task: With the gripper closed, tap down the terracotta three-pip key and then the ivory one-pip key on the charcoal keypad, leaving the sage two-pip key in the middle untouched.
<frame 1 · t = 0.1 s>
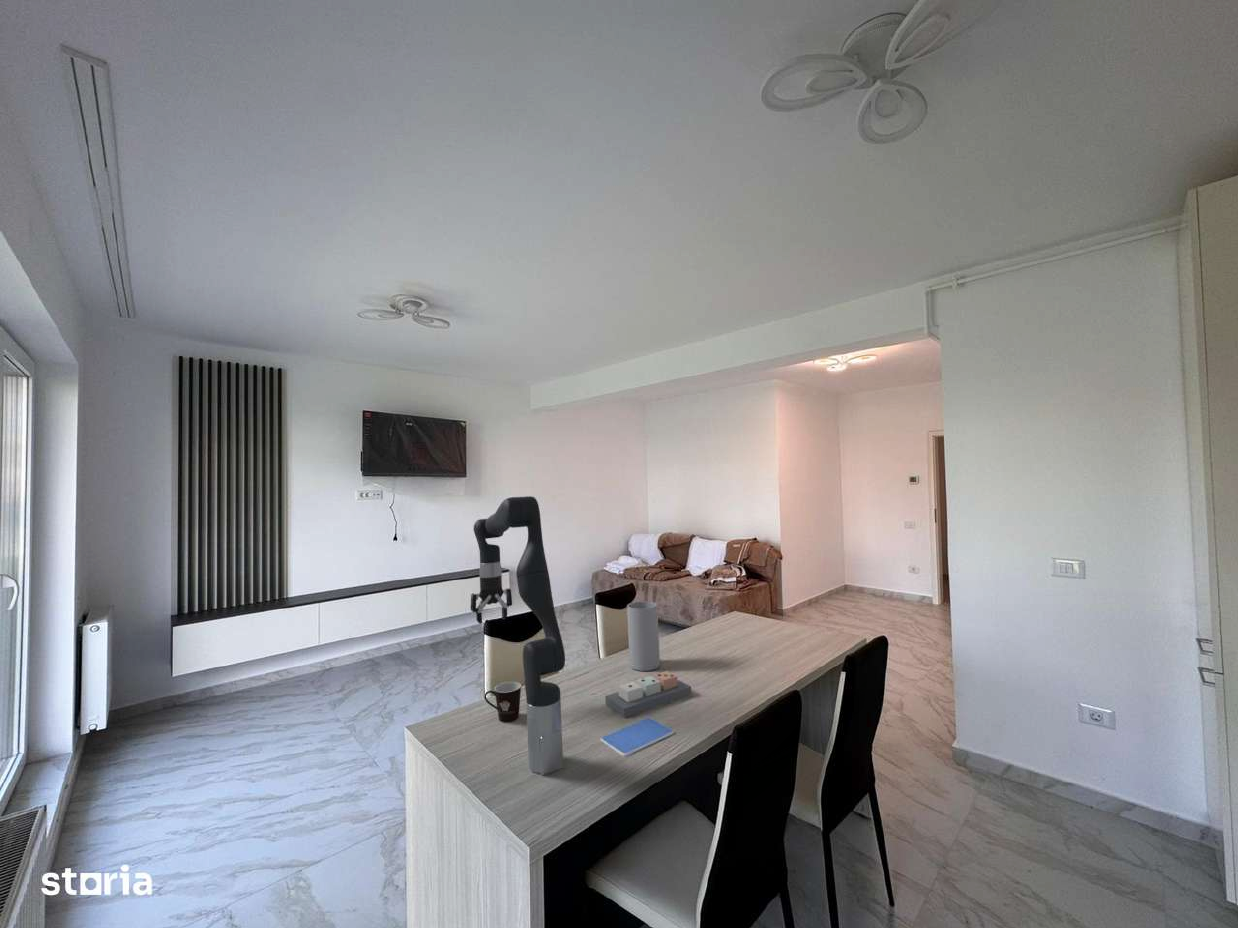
hand: (492, 620, 171), 29 cm above the table, fingers open, 8 cm apart
key three pips: (665, 680, 172), point 5 cm above the table, slide at 0.0 cm
keypad board: (649, 699, 168), on the table
cylinder vase: (645, 666, 200), on the table
key two pips: (648, 685, 168), point 5 cm above the table, slide at 0.0 cm
blue flat rectangular panel: (637, 739, 144), on the table
key one pip: (630, 691, 164), point 5 cm above the table, slide at 0.0 cm
coffee mug: (505, 717, 160), on the table
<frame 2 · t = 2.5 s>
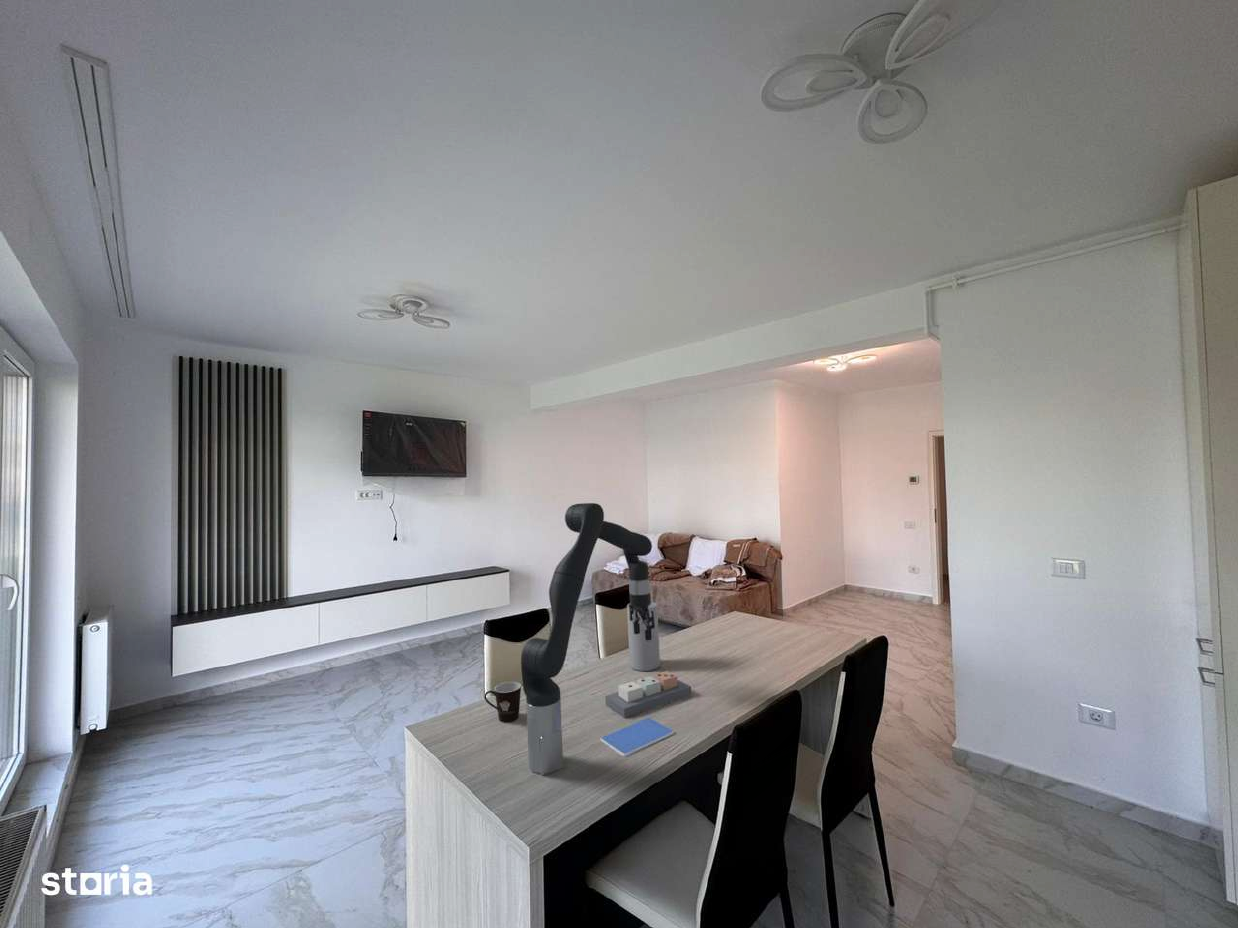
hand: (642, 636, 173), 20 cm above the table, fingers open, 8 cm apart
nothing on the table moved.
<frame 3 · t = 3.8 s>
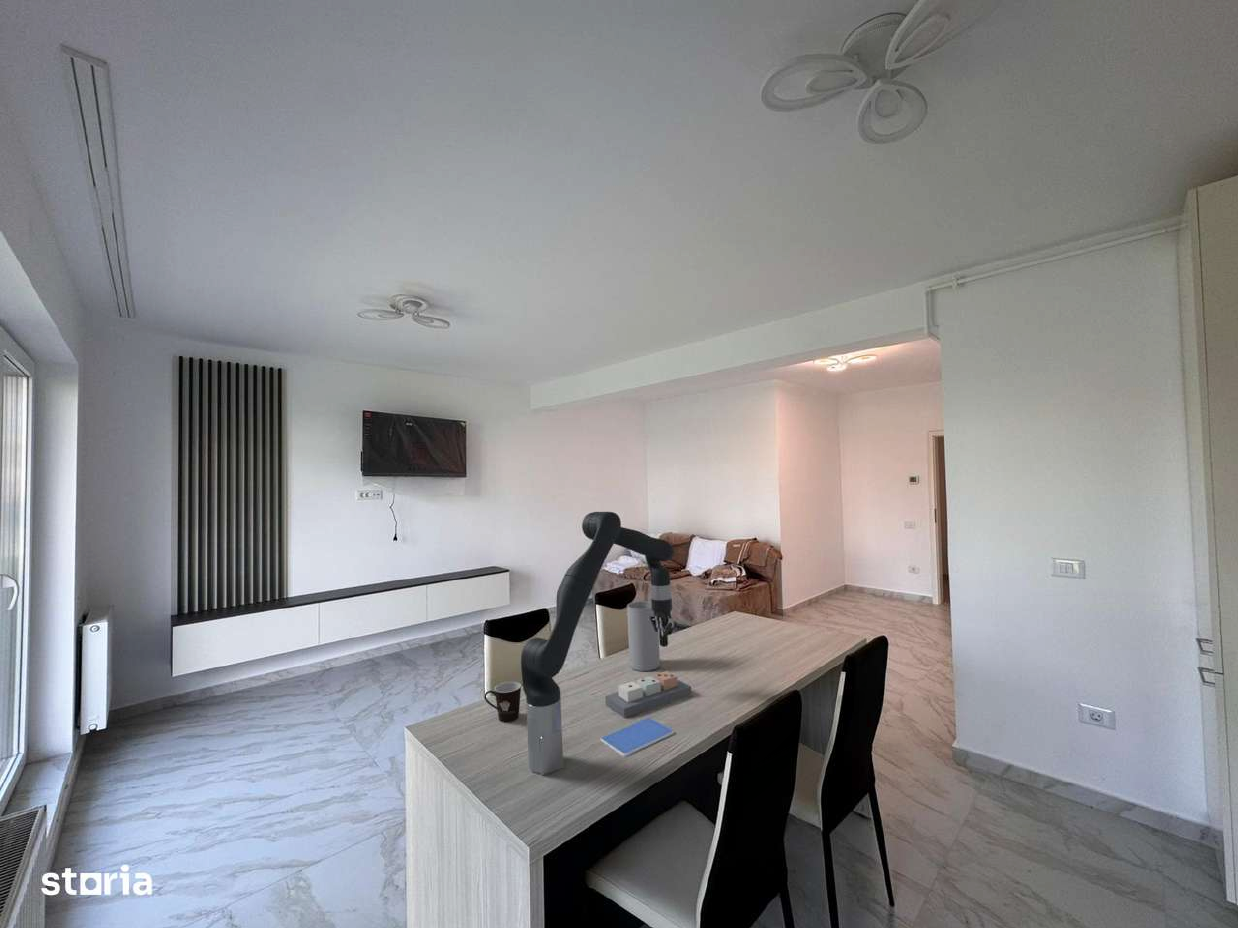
hand: (663, 645, 173), 17 cm above the table, fingers closed
nothing on the table moved.
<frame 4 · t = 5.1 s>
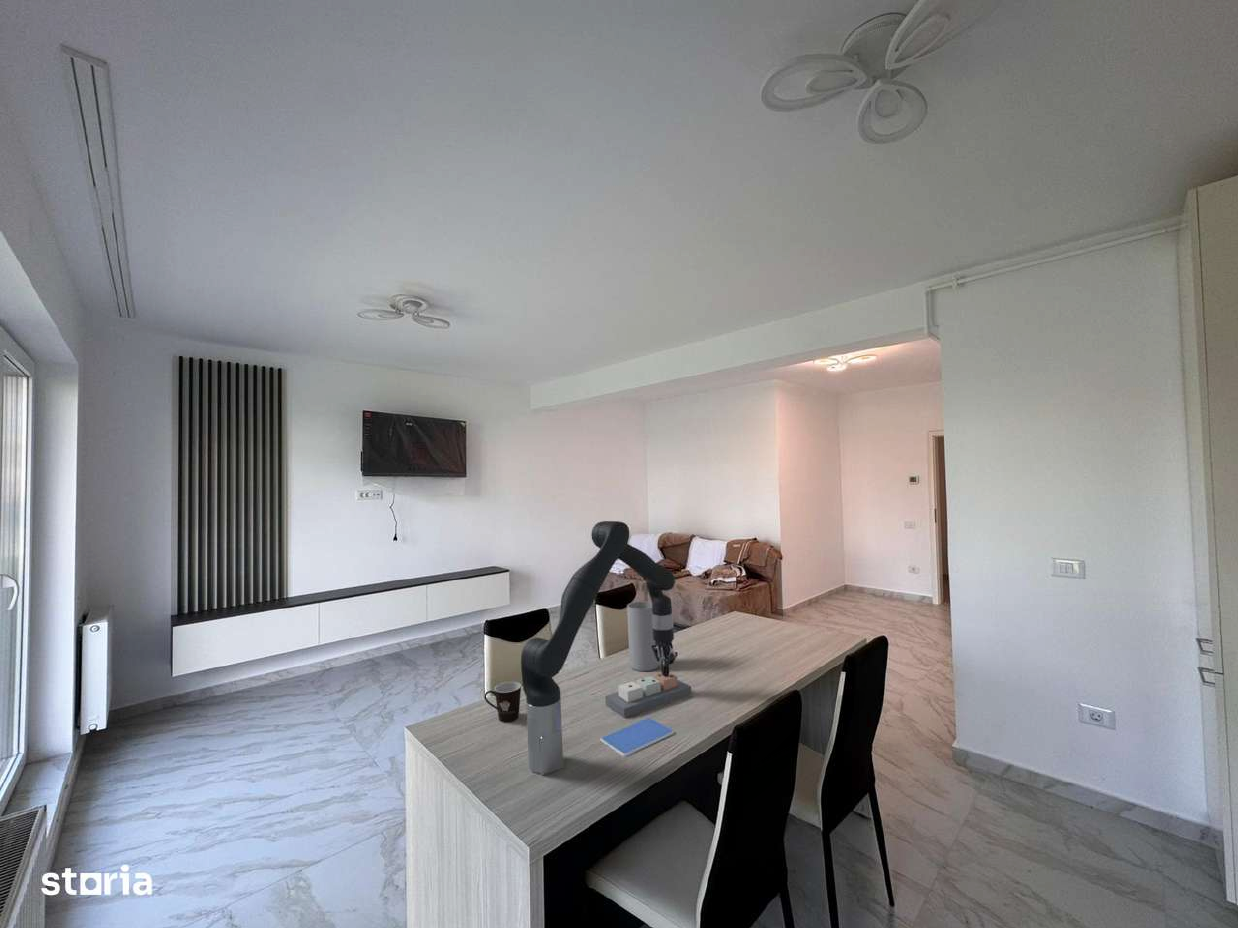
hand: (665, 675, 172), 7 cm above the table, fingers closed
key three pips: (665, 680, 172), point 5 cm above the table, slide at 0.1 cm, touching gripper
everything else where it was.
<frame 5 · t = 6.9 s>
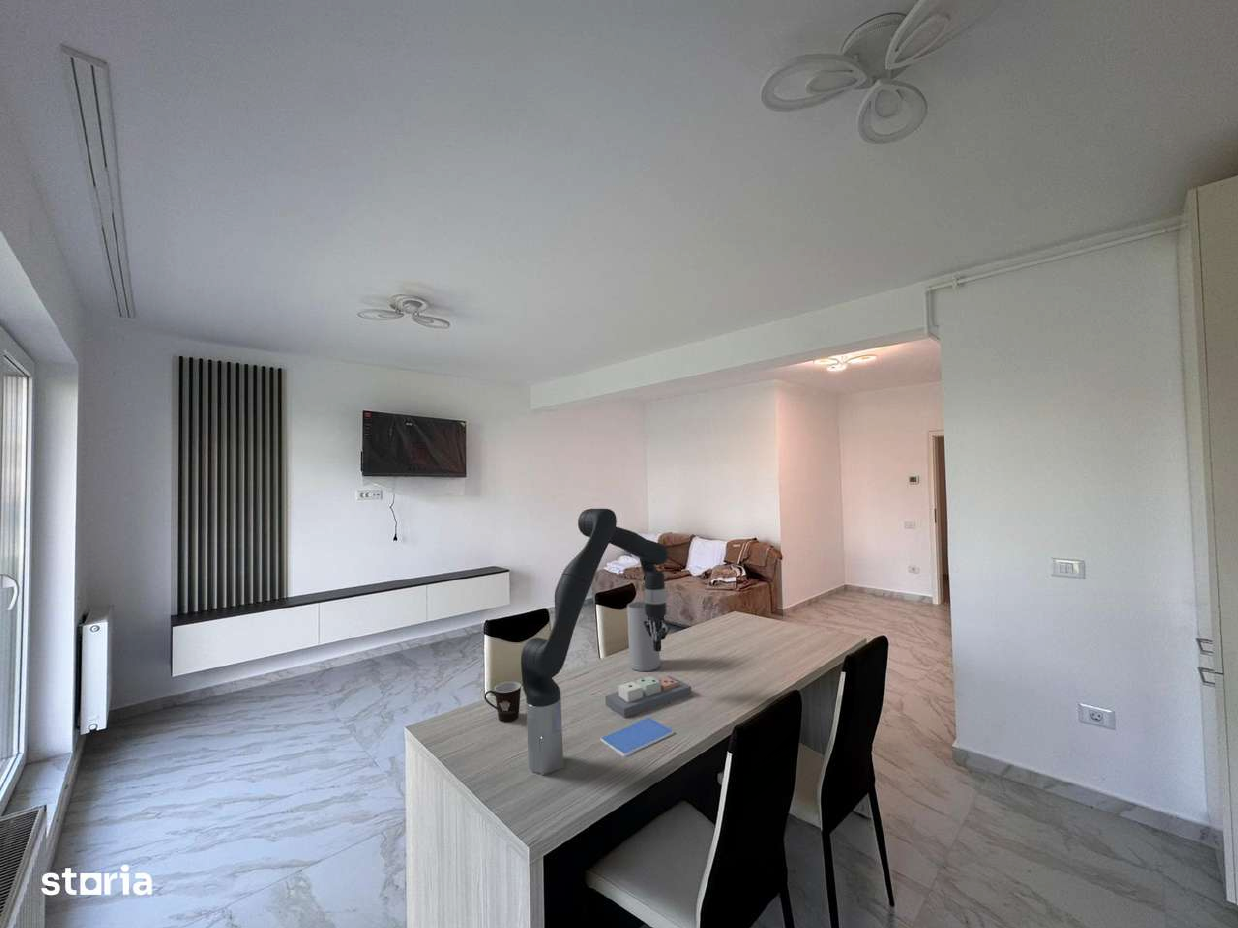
hand: (657, 650, 171), 16 cm above the table, fingers closed
key three pips: (665, 686, 172), point 3 cm above the table, slide at 2.1 cm
everything else where it was.
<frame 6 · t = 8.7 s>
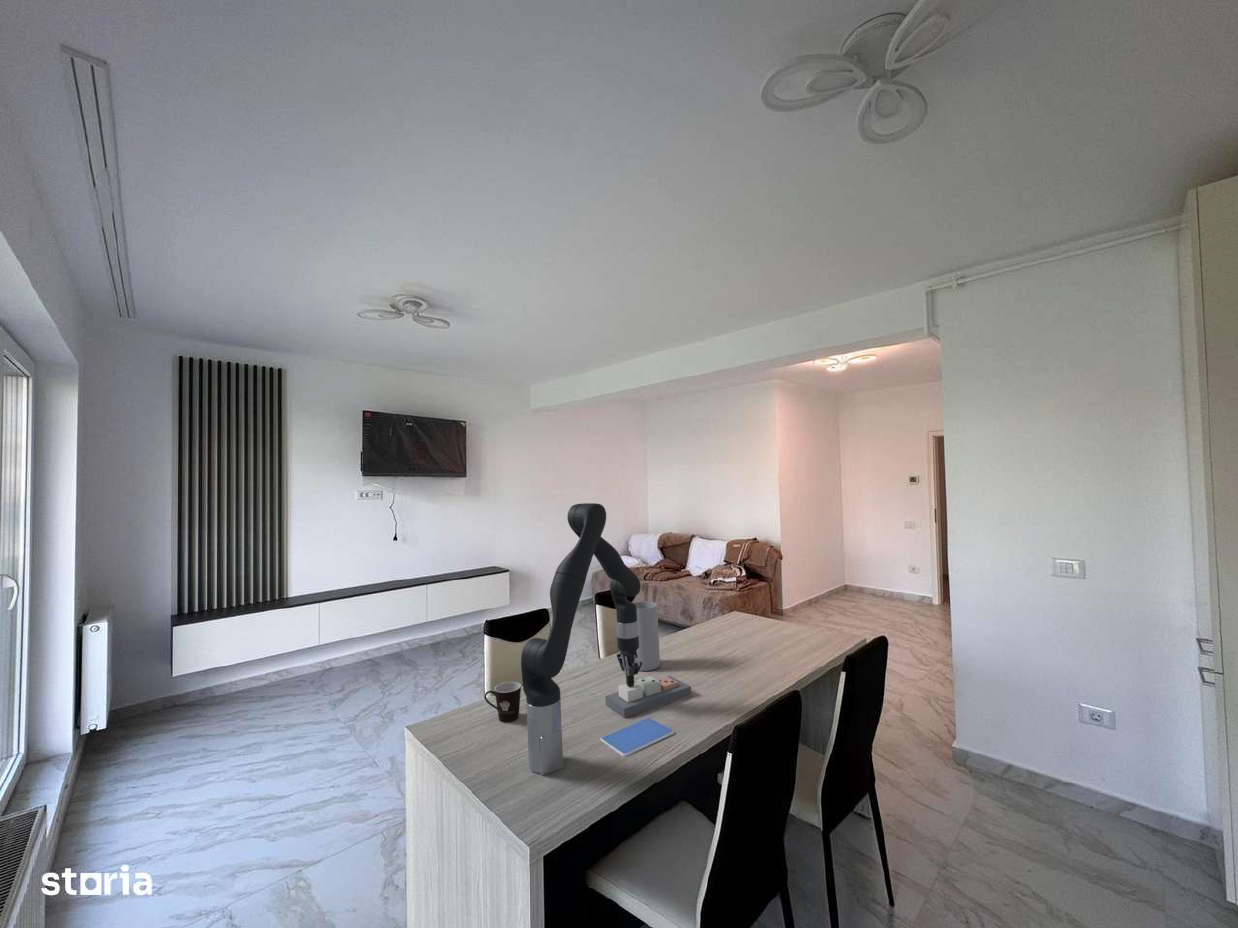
hand: (630, 685, 164), 7 cm above the table, fingers closed
key one pip: (630, 691, 164), point 5 cm above the table, slide at 0.0 cm, touching gripper
everything else where it was.
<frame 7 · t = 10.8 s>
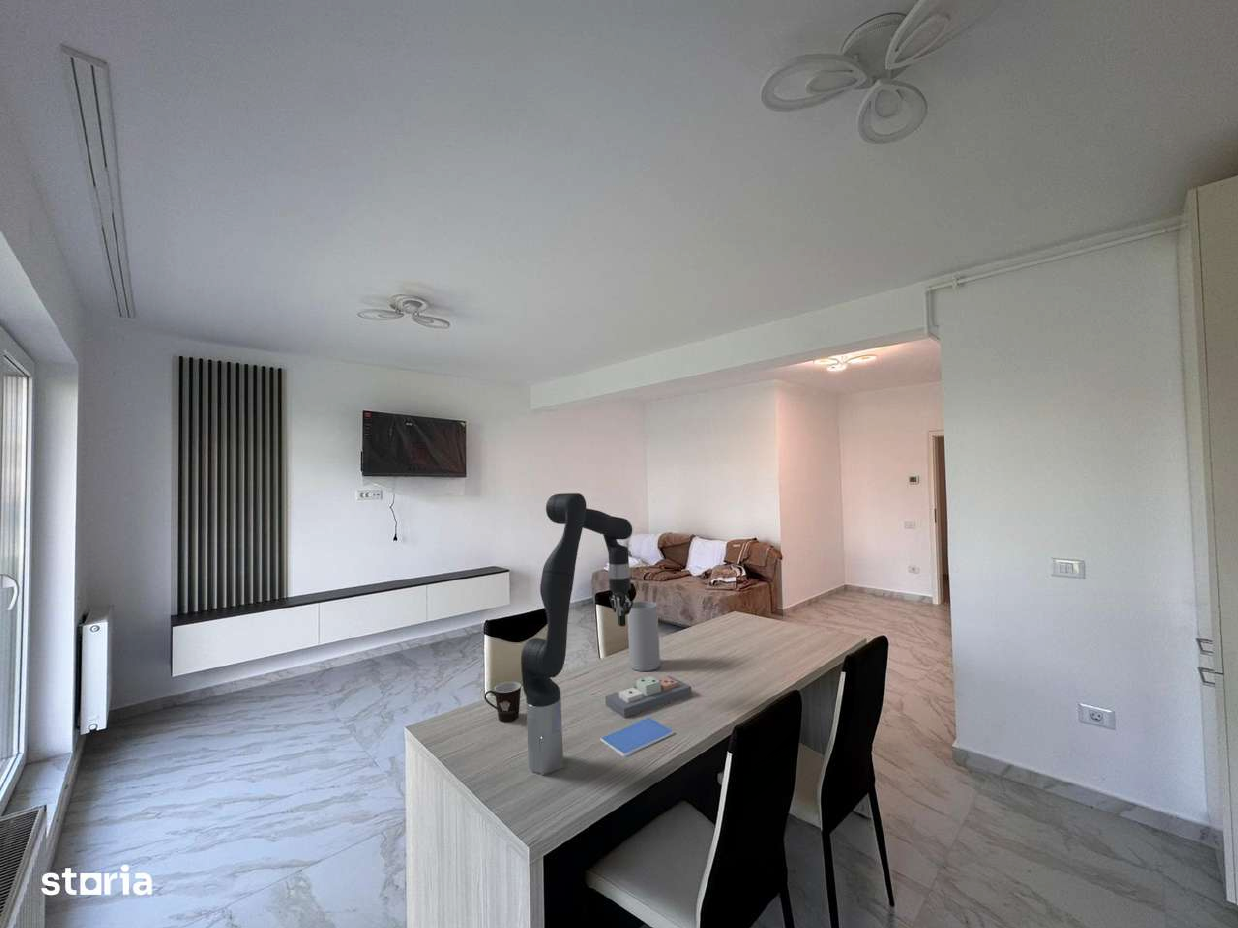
hand: (621, 625, 170), 26 cm above the table, fingers closed
key one pip: (630, 697, 164), point 3 cm above the table, slide at 2.1 cm
everything else where it was.
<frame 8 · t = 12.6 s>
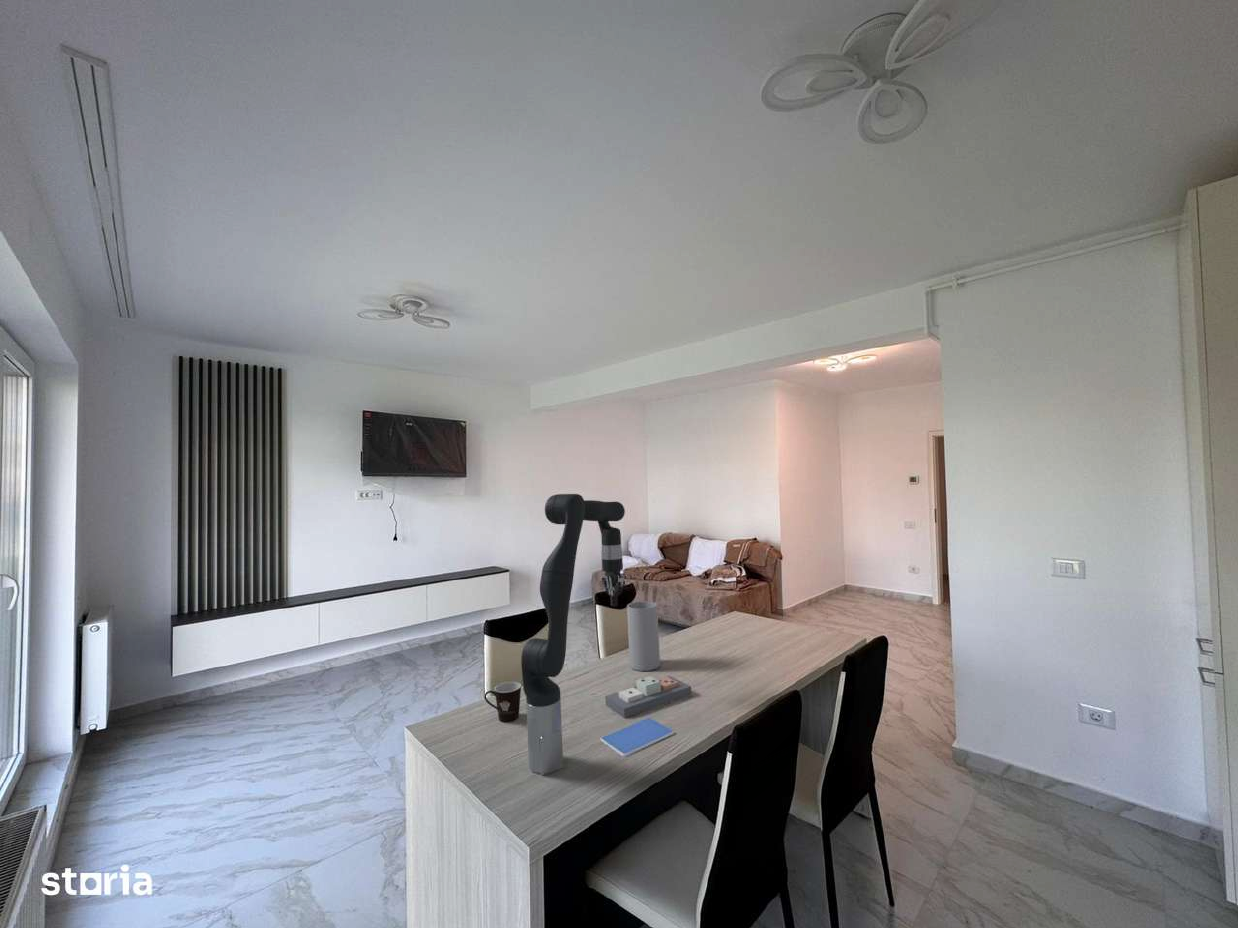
hand: (614, 605, 173), 32 cm above the table, fingers closed
nothing on the table moved.
at the end: key three pips slide at 2.1 cm; key one pip slide at 2.1 cm; key two pips slide at 0.0 cm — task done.
